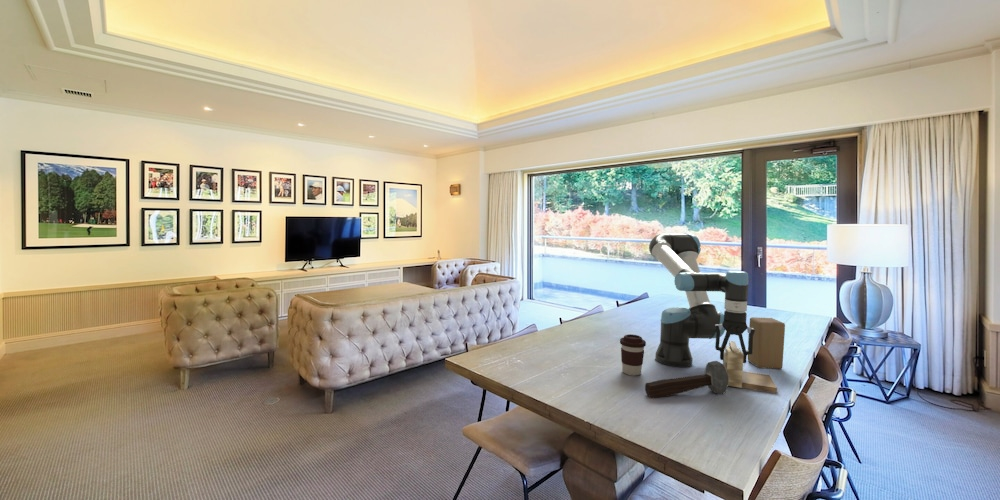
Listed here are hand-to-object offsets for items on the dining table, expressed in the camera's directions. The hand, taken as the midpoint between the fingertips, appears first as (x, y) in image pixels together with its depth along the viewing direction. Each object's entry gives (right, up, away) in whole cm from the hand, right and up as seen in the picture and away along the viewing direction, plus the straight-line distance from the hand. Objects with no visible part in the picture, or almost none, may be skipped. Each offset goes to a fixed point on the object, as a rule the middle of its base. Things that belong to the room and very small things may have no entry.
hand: (732, 369), depth 158 cm
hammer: (-25, -5, -13) cm, 28 cm away
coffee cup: (-37, -4, +7) cm, 38 cm away
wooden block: (+24, -4, +18) cm, 30 cm away
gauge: (-1, -4, -1) cm, 4 cm away
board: (+3, -4, -1) cm, 6 cm away
